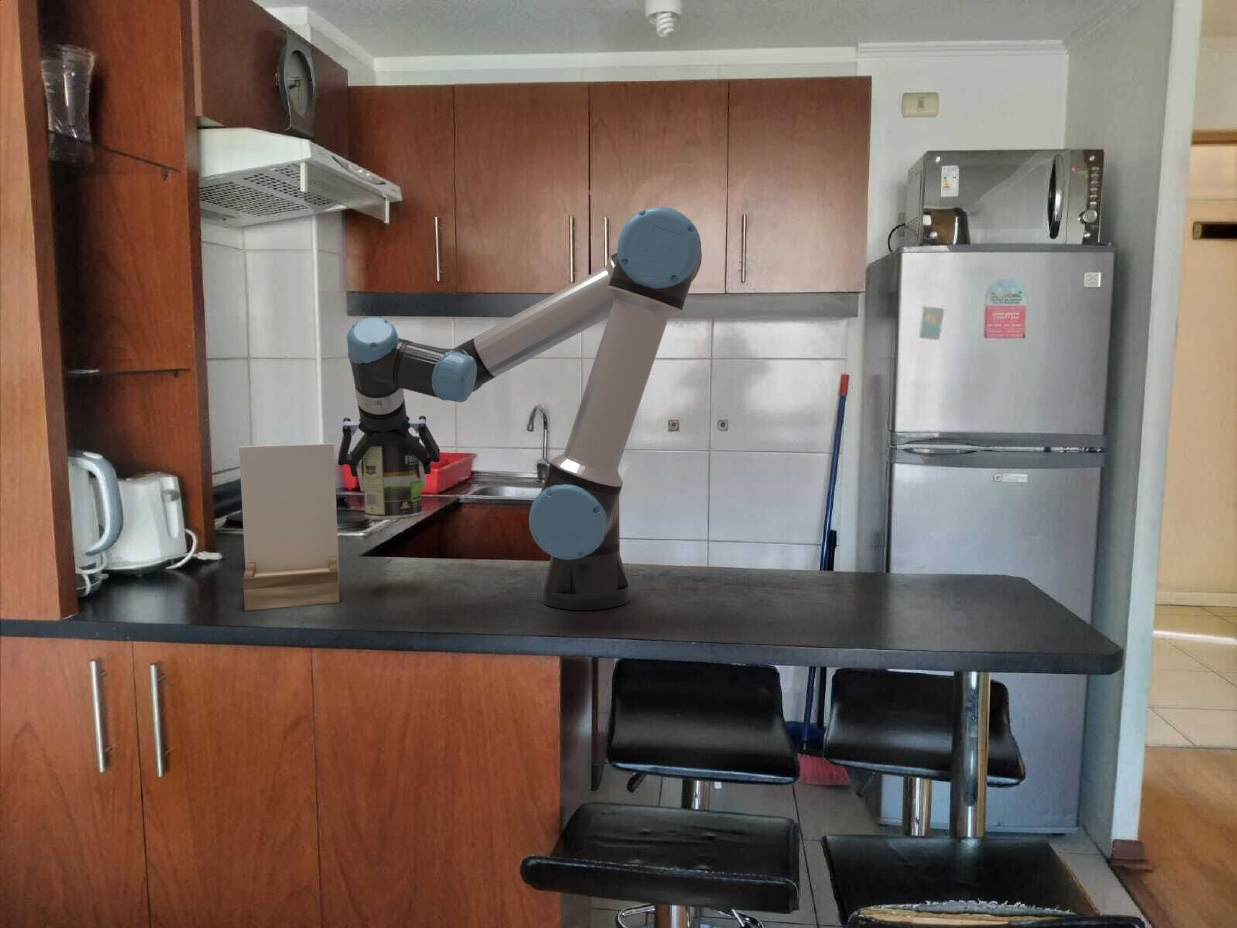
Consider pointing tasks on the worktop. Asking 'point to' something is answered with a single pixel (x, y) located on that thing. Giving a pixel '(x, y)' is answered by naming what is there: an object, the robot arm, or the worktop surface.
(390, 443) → the coffee can
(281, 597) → the shelf
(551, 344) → the robot arm
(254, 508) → the beige flat upright panel
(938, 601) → the worktop surface
